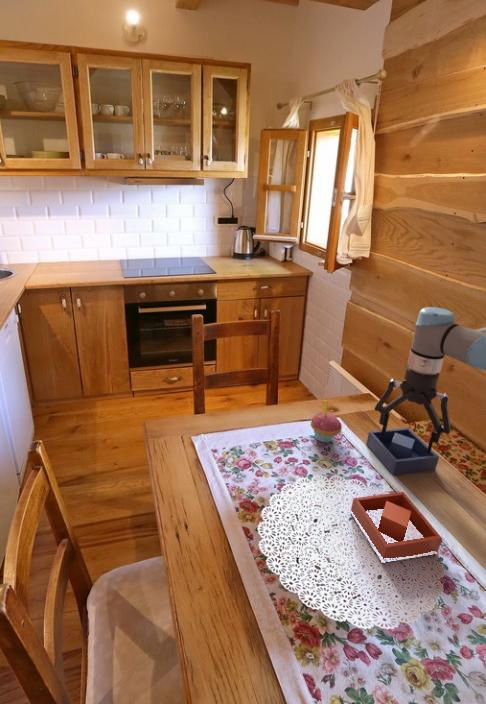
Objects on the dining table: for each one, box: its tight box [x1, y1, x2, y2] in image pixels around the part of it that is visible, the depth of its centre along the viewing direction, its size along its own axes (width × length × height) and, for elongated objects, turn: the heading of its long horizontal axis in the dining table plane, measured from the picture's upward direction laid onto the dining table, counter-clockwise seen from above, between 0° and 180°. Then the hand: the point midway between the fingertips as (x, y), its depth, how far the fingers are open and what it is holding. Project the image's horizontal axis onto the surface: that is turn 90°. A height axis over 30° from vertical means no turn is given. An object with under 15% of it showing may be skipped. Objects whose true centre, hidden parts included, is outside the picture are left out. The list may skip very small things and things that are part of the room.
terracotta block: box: [378, 501, 411, 542], centre depth 86 cm, size 5×5×5 cm
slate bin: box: [365, 427, 440, 477], centre depth 110 cm, size 13×13×4 cm
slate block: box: [389, 433, 415, 459], centre depth 109 cm, size 5×5×5 cm
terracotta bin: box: [350, 491, 443, 559], centre depth 86 cm, size 13×13×4 cm
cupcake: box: [310, 399, 343, 443], centre depth 115 cm, size 9×8×12 cm
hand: (405, 442), depth 108 cm, fingers open, 11 cm apart
